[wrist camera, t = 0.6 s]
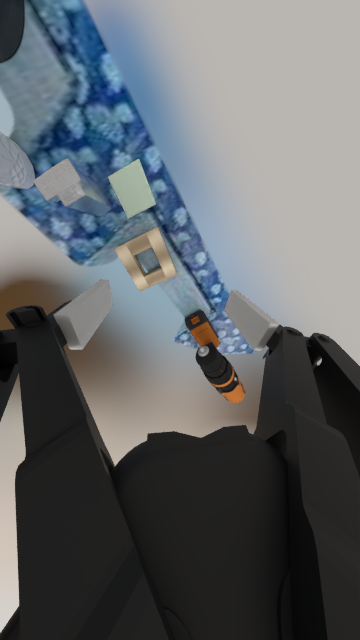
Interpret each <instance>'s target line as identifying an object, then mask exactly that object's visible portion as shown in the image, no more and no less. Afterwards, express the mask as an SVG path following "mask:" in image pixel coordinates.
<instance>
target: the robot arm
mask: <svg viewBox="0 0 360 640" xmlns="http://www.w3.org/2000/svg"><path fill="white" fill-rule="evenodd" d="M23 22H24V6H23V0H0V61H3V60H6V59H7V58H9V57H10V56H11V55H12V54H13V53H14V52H15V51H16V49H17V47H18V45H19V43H20V40H21V36H22V31H23ZM112 306H113V301H112V295H111V290H110V284H109V280H99V281H98V282H97V283H95V284H94V285H93V286H91V287H90V288H89V289H87V290H86V291H85V292H83V293H82V294H81V295H79V296H78V297H77V298H75V299H74V300H73V301H69V302H66V303H64V304H63V305H61V306H60V307H58V308H57V309H56V310H54V311H53V312H51V313H50V314H48V315H47V316H46V314H45V312H44V310H43V308H42V307H41V306H36V305H35V306H34V305H33V306H32V305H31V306H23V307H19V308H16V309H13V310H11V311H9V312H7V314H6V316H7V318H8V319H9V320H10V322H11V323H12V324H13V326H14V327H15V329H10V330H2V331H0V421H1V418H2V416H3V413H4V410H5V408H6V405H7V402H8V400H9V397H10V395H11V392H12V389H13V387H14V384H15V381H16V378H17V376H18V373H19V377H20V388H21V401H22V411H23V423H24V434H25V446H26V457H25V460H24V461H23V462H22V463H21V464H20V465H19V466H18V468H17V471H16V478H15V497H16V522H17V548H18V549H17V550H18V576H19V577H18V578H19V607H18V608H17V610H16V611H15V613H14V614H13V616H12V617H11V618H10V620H9V621H8V623H7V624H6V626H5V627H4V629H3V630H2V632H1V633H0V640H360V366H359V365H358V364H357V363H356V362H355V361H354V360H353V359H352V358H351V357H350V356H349V355H348V354H347V353H346V352H345V351H344V350H343V349H342V348H341V347H340V346H339V345H338V344H337V343H336V342H335V341H334V340H332V339H331V338H329V337H328V336H326V335H324V334H319V333H313V334H312V336H311V337H310V338H309V337H304V336H303V334H302V333H301V332H299V331H298V330H296V329H294V328H291V327H282V326H281V325H280V324H279V323H278V322H276V321H275V320H274V319H273V318H271V317H270V316H269V315H268V314H266V313H265V312H264V311H263V310H261V309H260V308H259V307H258V306H256V305H255V304H254V303H252V302H251V301H250V300H249V299H247V298H246V297H245V296H244V295H242V294H241V293H240V292H239V291H235V290H231V293H230V296H229V298H228V301H227V304H226V307H225V310H224V312H225V313H226V314H227V315H228V317H229V318H230V319H231V321H232V322H233V323H234V325H235V326H236V327H237V329H238V330H239V331H240V332H241V334H242V335H243V336H244V338H245V339H246V340H247V342H248V343H249V344H250V346H251V347H252V348H253V349H254V351H257V350H258V351H261V350H263V349H264V347H265V346H266V345H267V346H268V348H269V349H268V351H267V352H266V353H265V355H264V356H263V359H264V358H265V357H266V361H265V368H264V375H263V383H262V390H261V398H260V405H259V413H258V421H257V427H256V430H255V432H254V434H250V433H249V432H248V429H247V427H246V425H241V426H230V427H223V428H221V429H219V430H217V431H215V432H213V433H211V434H209V435H207V436H205V437H202V438H198V437H195V436H190V435H186V434H182V433H178V432H174V431H173V432H162V433H151V434H148V436H147V441H145V442H143V443H141V444H139V445H138V446H136V447H134V448H133V449H132V450H131V451H129V452H128V453H127V454H126V455H125V456H124V457H123V458H122V459H121V460H120V461H119V462H118V464H117V465H116V466H114V463H113V461H112V459H111V456H110V454H109V452H108V450H107V448H106V446H105V444H104V442H103V439H102V437H101V435H100V433H99V430H98V428H97V425H96V423H95V421H94V418H93V416H92V414H91V411H90V409H89V407H88V404H87V402H86V400H85V397H84V395H83V393H82V390H81V388H80V386H79V383H78V381H77V378H76V376H75V374H74V371H73V369H72V367H71V364H70V362H69V360H68V357H67V355H66V353H65V350H64V349H63V347H64V346H65V345H66V344H68V346H69V348H70V349H81V350H82V349H83V348H84V346H85V345H86V344H87V342H88V341H89V339H90V338H91V336H92V335H93V334H94V332H95V331H96V329H97V328H98V326H99V325H100V324H101V322H102V321H103V319H104V318H105V316H106V315H107V313H108V312H109V311H110V309H111V308H112ZM321 358H322V362H321V364H320V365H319V366H318V365H317V364H316V363H317V362H318V361H319V360H320V359H321Z"/></svg>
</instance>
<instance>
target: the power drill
mask: <svg viewBox="0 0 360 640" xmlns="http://www.w3.org/2000/svg"><path fill="white" fill-rule="evenodd" d="M185 323H186V326H187V327H188V329H189V330H190V332H191V334H192V335H193V336H194V338H195V339H196V340H197V342H198V343H199V345H200V347H199V348H198V350H197V353H196V361H197V363H198V364H199V365H200V367H201V369H202V371H203V372H204V375H205V376H206V378H207V379H208V381H209V382H210V383H211V384H212V385H213V386H214V387H215V388H216V389H217V391H218V392H219V393H220V394H221V395H222V396H224V397H225V398H226V399H227V400H228V401H230V402H233V403H237V402H240V401H241V400H242V399H243V398H244V395H245V389H244V387H243V385H242V383H241V382H240V380H239V378H238V376H237V374H236V372H235V370H234V369H233V367H232V365H231V364H230V363H229V362H228V360H227V359H226V358H225V357H224V356H223V355H221V353H220V352H218V350H217V348H216V347H218V346H219V345H220V342H219V340H218V336H217V334H216V332H215V331H214V329H213V327H212V326H211V324H210V322H209V320H208V319H207V317H206V315H205V314H204V312H203V311H201V310H200V311H198V312H197V313H195V314H193V315H192V316H190V317H188V318H186V319H185Z"/></svg>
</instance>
